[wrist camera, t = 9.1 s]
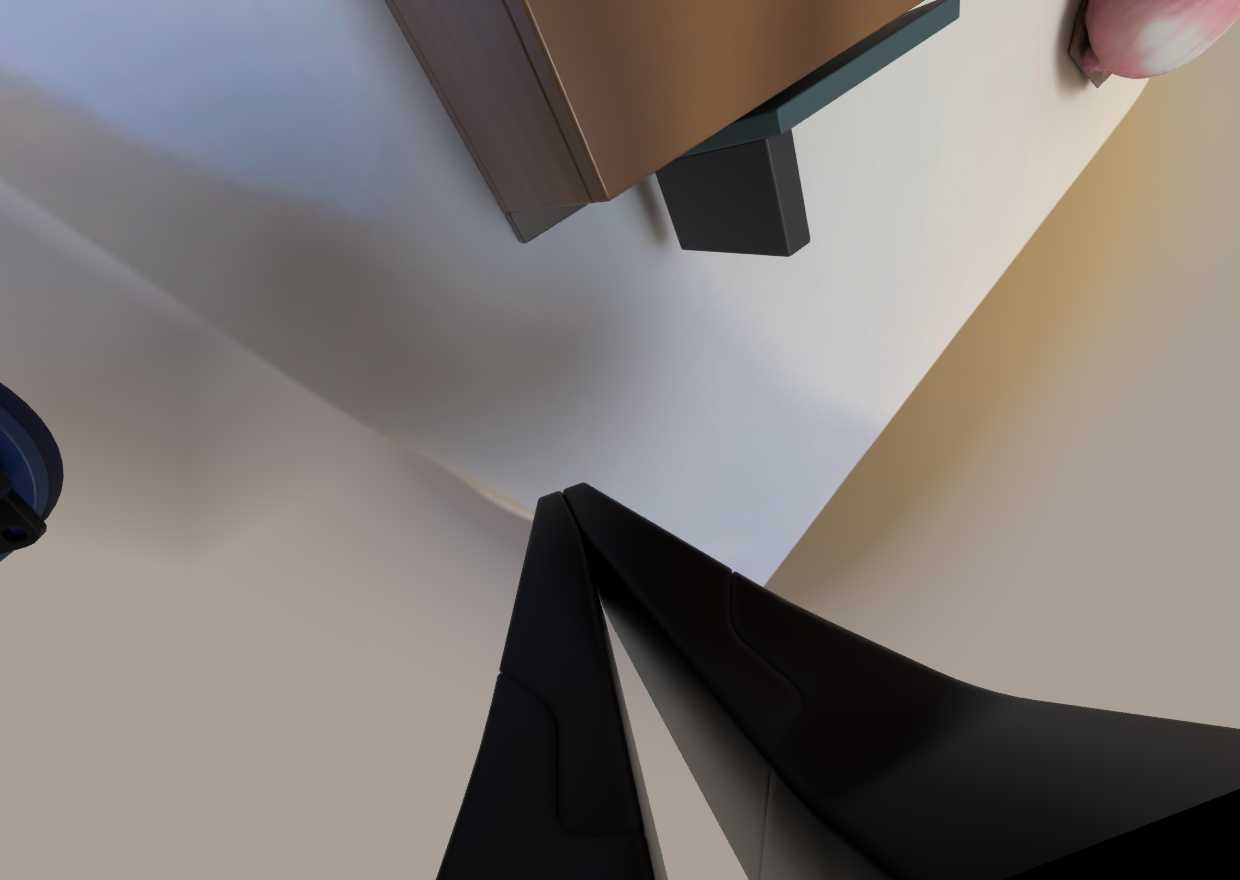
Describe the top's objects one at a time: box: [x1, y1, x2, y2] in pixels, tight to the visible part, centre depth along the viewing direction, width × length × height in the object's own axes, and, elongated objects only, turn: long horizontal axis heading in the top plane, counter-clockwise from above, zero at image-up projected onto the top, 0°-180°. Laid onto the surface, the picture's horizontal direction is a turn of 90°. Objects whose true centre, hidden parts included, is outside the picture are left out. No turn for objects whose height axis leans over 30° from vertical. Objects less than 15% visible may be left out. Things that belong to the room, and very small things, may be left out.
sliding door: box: [655, 0, 960, 257], centre depth 16 cm, size 7×4×8 cm, turn 118°
